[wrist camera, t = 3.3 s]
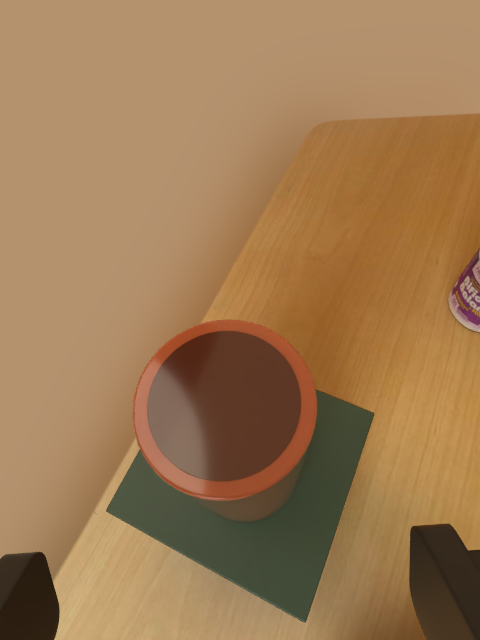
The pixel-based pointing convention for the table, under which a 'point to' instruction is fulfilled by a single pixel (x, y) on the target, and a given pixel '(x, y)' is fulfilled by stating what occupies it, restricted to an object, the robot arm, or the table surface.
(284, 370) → the cup
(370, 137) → the table surface
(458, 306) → the pill bottle
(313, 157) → the table surface
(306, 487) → the books
